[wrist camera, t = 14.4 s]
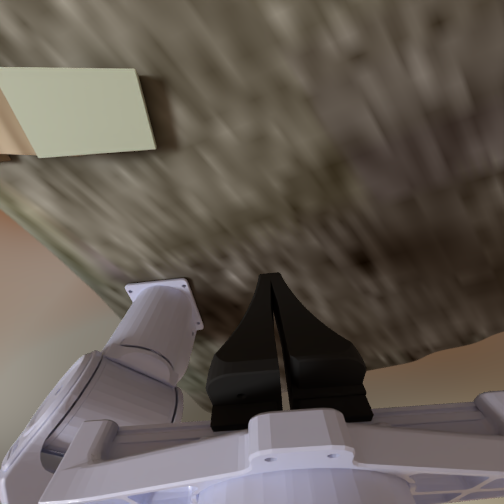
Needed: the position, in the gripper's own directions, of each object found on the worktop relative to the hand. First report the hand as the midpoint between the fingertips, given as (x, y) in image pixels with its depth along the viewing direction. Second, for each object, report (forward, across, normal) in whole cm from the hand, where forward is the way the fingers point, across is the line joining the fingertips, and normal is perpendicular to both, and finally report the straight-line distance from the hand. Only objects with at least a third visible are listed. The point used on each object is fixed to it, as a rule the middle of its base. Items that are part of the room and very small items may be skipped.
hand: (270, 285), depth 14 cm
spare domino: (+9, +8, -11) cm, 16 cm away
